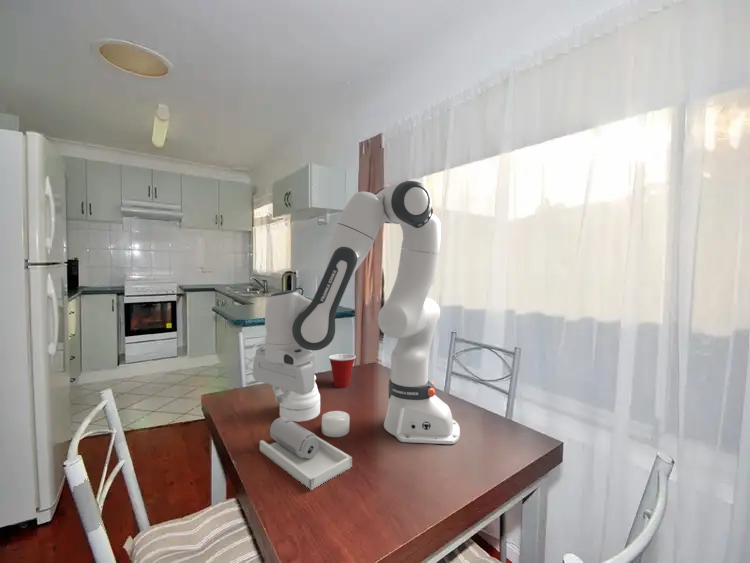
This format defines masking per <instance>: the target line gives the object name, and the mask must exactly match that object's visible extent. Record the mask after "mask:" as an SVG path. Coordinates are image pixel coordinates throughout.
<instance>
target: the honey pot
mask: <svg viewBox="0 0 750 563" xmlns="http://www.w3.org/2000/svg"><path fill="white" fill-rule="evenodd" d="M316 380H317V376H316V375H315V374H314V389H313V390H312V391H311V392H309V393H307V394H305V395H301V394H298V393H295V392H292V391H291V392H290V394H289V396H288V402H287V403H286V404H281V403H279V418H280V417H286V418H287V419H289V420H291V421H293V422H294V423H297V422H305V421H311V420H312V419H315V418H317V417H318V416H319V415H320V413H321V394H320V392H319V389H318V385H317V383H316ZM282 394H283V392H282Z"/></svg>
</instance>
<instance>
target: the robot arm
mask: <svg viewBox="0 0 750 563" xmlns="http://www.w3.org/2000/svg"><path fill="white" fill-rule="evenodd" d="M384 224H393V225H399V226H400V228H401V230H402V232H401V233H402V242H401V246H400V248H401V249H400V256H399V263H398V269H397V274H396V278H395V280H394V281H395V282H394V284H393V287H392V289H391V292H390V294H389V296H388V299H387V301H386V302H385V304H384V305H383V306H382V307H381V309H380V310H379V312H378V314H377V325H378V327H379V329H380V331H381V332H382V333H383V335H385V336H386V337H387V338H391V339H397V341H396V345H395V346H394V348H393V350H392V352H391V355H390V356H391V357H390V377H389V380H388V391H387V392H388V393H387V394H388V406H387V411H386V415H385V419H384V421H383V427H384V429H385V430H386V432H388V433H389V434H391V435H392V436H394V437H396V439H397V440H398V441H400V442H402V443H414V444H417V443H418V444H439V445H440V444H441V445H442V444H443V445H453V444H456V443H457V442H458V441H459V440H460V437H461V428H460V424H459V423H458V422H457V421H456V420H455V419H454V418H453V414H452V411H451V409H450V407H449V405H448V404H447V403H446V402H444V401H443V400H442V399H440V398H439V397H438V396H437V395H436V390H435V385H434V384H435V383H434V381H432V382H430V380H428V378H429V360H430V359H429V358H430V353H431V347H432V343H433V339H434V334H435V330H436V327H437V325H438V322H439V321H440V318H441V309H440V305H439V304H438V303H437V302H436V301H435V300H434V299H432V298H429V297H428V295H429V292H430V290H431V288H432V286H433V285H434V283H435V282H436V278H437V273H438V272H437V271H438V264H439V258H440V251H441V239H442V234H441V231H442V230H441V229H442V228H441V227H442V226H441V221H440V219H439V217H438V216H436V215H435V214H434V209H433V200H432V197H431V193H430V191H429V189H428V187H427V186H425V185H424V184H423V183H421V182H418V181H416V180H405V181H401V182H400V181H398V182H394V183H392V184H390V185H388V186H385V187H383V188H381V189H379V190H378V191H377V192H375V193H373V192H369V191H358V192H355V193H354V194H353V195H352V196H351V198H350V199H349V201H348V202H347V203H346V205H345V207H344V208H343V210H342V212H341V213H340V216H339V218H338V220H337V222H336V224H335V226H334V230H333V231H332V234H331V237H330V242H329V245H328V246H329V247H328V254H327V263H326V267H325V270H324V274H323V275H322V279H321V280H320V283H319V285H318V287H317V290H316V292H315V294H314V296H313V298H312V299H309V298H308V297H305V296H304V295H302V294H301V293H299V292H298V291H297V290H295V289H293V290H289V289H288V290H282V291H278V292H275V293H273V294H271V295H270V296H269V297H268V298H267V300H266V304H265V312H264V313H265V315H264V327H265V330H266V331H265V332H266V334H265V338H264V346H259V347H258V348H256V350H255V356H254V359H253V363H252V364H253V365H252V377H253V379H254V381H258V382H261V383H263V384H267V385H271V387H272V391H273V393H274V396H275V397H274V398H275V402H276V403H278V404H280V403H281V404H286V403H287V402H288V396H289V394H290V392H291V391H292V392H295V393H298V394H301V395H305V394H307V393H309V392H311V391H312V390H313V389H314V375H315V368H314V364H313V363H312V361H314V360H315V359H314V358H315V355H314V353H313V352H312V351H320V350H323V349H325V348H326V347H328V346H329V345H330V344H331V343H332V342H333V339H335V338H334V337H335V334H336V316H337V311H338V308H339V306H340V304H341V301H342V300H343V296H344V293H346V289H347V287H348V285H349V282H350V280H351V279H352V277H353V276H354V274H355V273H356V271H357V270H358V269H359V267H360V266H361V265H362V263H363V262H364V260H365V259H366V257H367V256H368V255H369V253H370V250H371V248H372V247H373V245H374V243H375V241H376V238H377V236H378V232H379V230H381V228H382V226H384ZM282 392H283V394H282Z"/></svg>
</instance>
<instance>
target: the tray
mask: <svg viewBox="0 0 750 563" xmlns="http://www.w3.org/2000/svg"><path fill="white" fill-rule="evenodd" d="M316 437H317V439H318V440H319V443H320V446H319V450H318V452H317V453H316V454H315V456H313V457H312V458H301V457H299V456H298V455H296V454H295V453H293V452H292V451H290V450H289V449H287V448H286V447H284V446H283V445H281V444H280V443H278V442H277V441H275V442H272V443H268V442H266V441H265V440H264V439H262V440H259V452H261V453H262V454H263V455H265V456H266V457H267V458H269V459H270V460H271V461H272V462H274V463H275V464H276V465H277V466H279V467H280V468H281V469H282V470H284V471H285V472H286V471H287V473H288V474H289V475H290V476H291V475H292V476H291V477H292V478H294V479H296V481H297V482H299V481H300V482H301V483H300V482H299V483H300V484H302V485H303V484H304V485H305V486H306V488H307V487H308V488H309V489H310V490H309V489H308V488H307V489H308V490H309V491H311V490H312V491H313V489H314V488H315V489H317V488H319V487H321V486H322V485H324V484H326V483H327V481H328V480H329V481H331V480H333V479H335V478H336V477H338V476H339V474H340V475H342V474H343V473H345V472H347V471H348V470H351V467H352V468H353V456H351V455H350V454H347V453H346V452H344V451H343V450H341V449H340V448H337V447H335V446H334V445H332V444H330V443H329V442H327V441H326V440H324V439H323V438H320V437H319V436H317V435H316ZM346 470H347V471H346ZM337 475H338V476H337ZM334 477H335V478H334ZM332 478H333V479H332ZM330 479H331V480H330ZM329 481H328V482H329ZM325 482H326V483H325ZM323 483H324V484H323ZM321 484H322V485H321ZM304 485H303V486H304ZM320 485H321V486H320ZM305 486H304V487H305ZM318 486H319V487H318ZM316 487H317V488H316ZM315 489H314V490H315Z"/></svg>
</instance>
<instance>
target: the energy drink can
mask: <svg viewBox="0 0 750 563" xmlns="http://www.w3.org/2000/svg"><path fill="white" fill-rule="evenodd" d="M269 434H270V437H271V439H273V440H274V441H275V442H278V443H280V444H281V445H283V446H284V447H286V448H287V449H289V450H290V451H292V452H293V453H295V454H296V455H298V456H299V457H301V458H312V457H313V456H315V454H316V453H317V452H318V450H319V446H320V443H319V440H318V439H317V437H318V436H317V435H316V434H315V433H314V432H312V431H310V430H308V429H306V428H305V427H303V426H301V425H300V424H298V423H297V422H294V421H291V420H289V419H287V418H286V417H280V416H279V417H278V418H275V420H273V421H272V423H271V425H270V428H269ZM316 436H317V437H316Z"/></svg>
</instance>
